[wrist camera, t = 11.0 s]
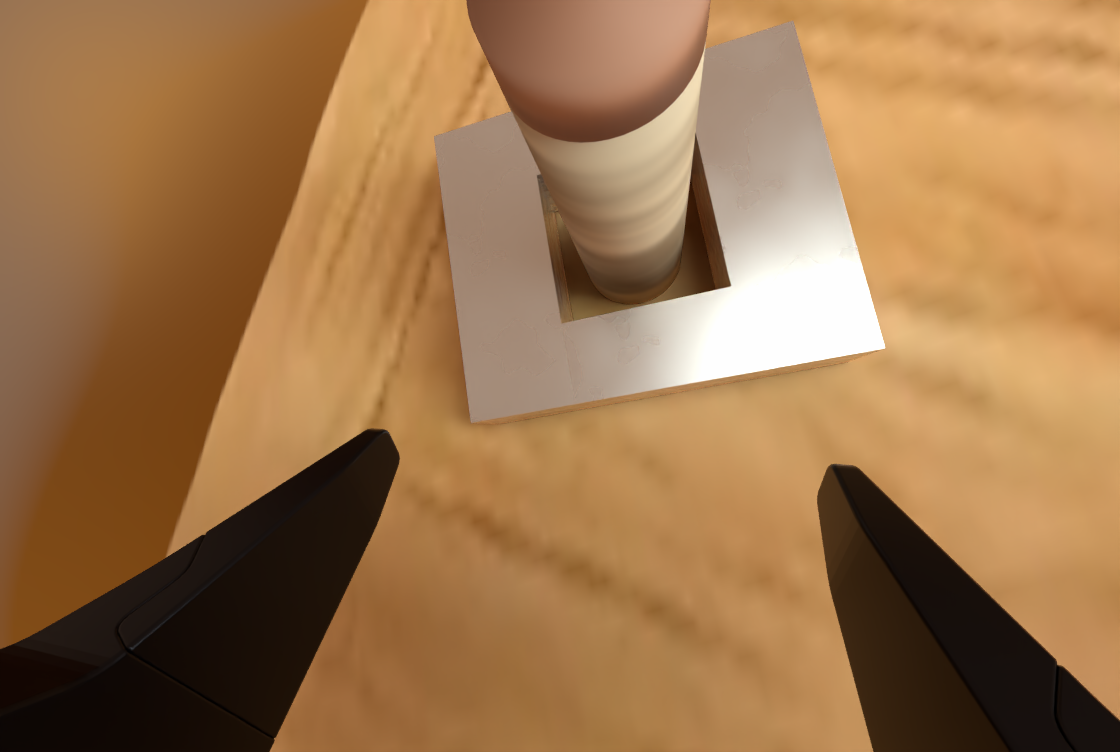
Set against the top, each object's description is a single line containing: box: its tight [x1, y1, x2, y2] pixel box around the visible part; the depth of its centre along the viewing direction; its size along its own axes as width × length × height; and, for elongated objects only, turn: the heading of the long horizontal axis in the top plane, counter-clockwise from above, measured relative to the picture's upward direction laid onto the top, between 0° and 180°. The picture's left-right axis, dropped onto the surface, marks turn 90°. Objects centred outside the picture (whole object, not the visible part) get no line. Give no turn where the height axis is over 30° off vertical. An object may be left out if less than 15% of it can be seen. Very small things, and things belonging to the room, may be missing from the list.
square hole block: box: [434, 21, 885, 424], centre depth 18 cm, size 12×14×3 cm
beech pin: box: [467, 0, 711, 304], centre depth 13 cm, size 4×4×12 cm
